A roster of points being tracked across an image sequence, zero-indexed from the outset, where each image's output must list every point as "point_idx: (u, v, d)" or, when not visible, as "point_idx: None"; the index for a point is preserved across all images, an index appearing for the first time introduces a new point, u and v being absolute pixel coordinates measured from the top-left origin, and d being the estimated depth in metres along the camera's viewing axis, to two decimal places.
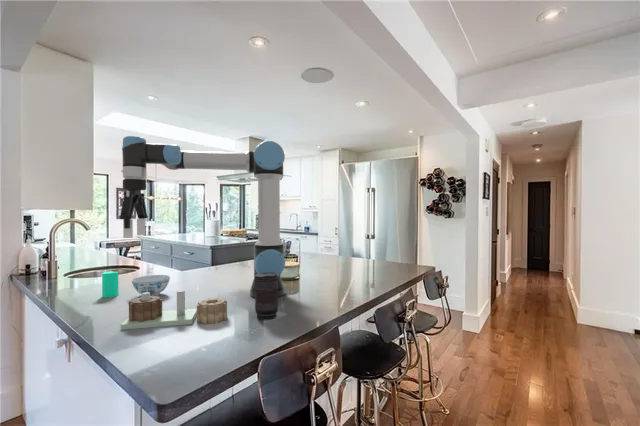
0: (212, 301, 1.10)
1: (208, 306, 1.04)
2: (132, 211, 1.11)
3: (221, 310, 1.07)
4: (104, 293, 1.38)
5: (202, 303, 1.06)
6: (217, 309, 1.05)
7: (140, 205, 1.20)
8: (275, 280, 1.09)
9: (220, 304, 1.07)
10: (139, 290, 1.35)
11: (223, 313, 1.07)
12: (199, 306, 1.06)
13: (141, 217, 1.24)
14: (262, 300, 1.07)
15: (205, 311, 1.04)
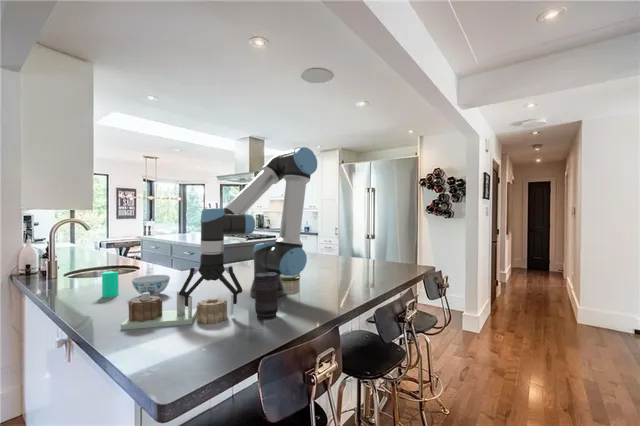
0: (212, 301, 1.10)
1: (208, 306, 1.04)
2: (191, 289, 1.06)
3: (221, 310, 1.07)
4: (104, 293, 1.38)
5: (202, 303, 1.06)
6: (217, 309, 1.05)
7: None
8: (275, 280, 1.09)
9: (220, 304, 1.07)
10: (139, 290, 1.35)
11: (223, 313, 1.07)
12: (199, 306, 1.06)
13: (233, 293, 1.10)
14: (262, 300, 1.07)
15: (205, 311, 1.04)
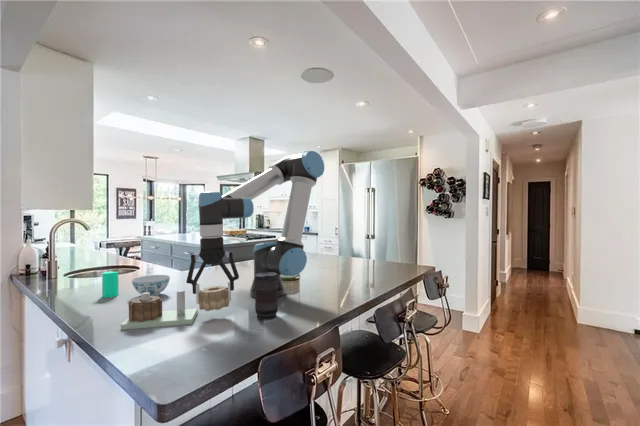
0: (214, 289, 1.11)
1: (210, 293, 1.05)
2: (197, 275, 1.07)
3: (223, 297, 1.08)
4: (104, 293, 1.38)
5: (204, 291, 1.07)
6: (219, 296, 1.05)
7: None
8: (275, 280, 1.09)
9: (221, 291, 1.07)
10: (139, 290, 1.35)
11: (225, 300, 1.08)
12: (201, 294, 1.06)
13: (229, 279, 1.10)
14: (262, 300, 1.07)
15: (207, 298, 1.04)
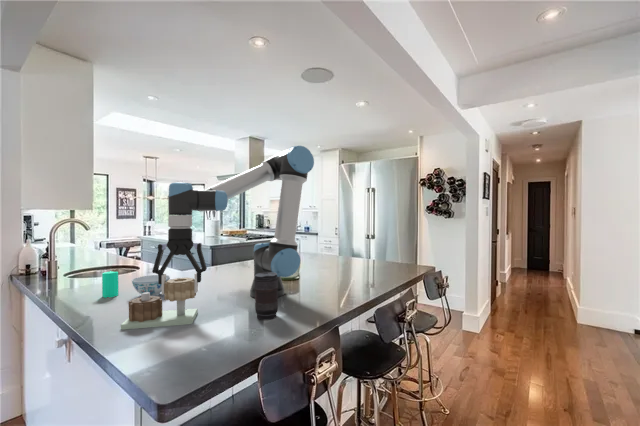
0: (181, 280, 1.11)
1: (175, 284, 1.05)
2: (163, 266, 1.06)
3: (189, 288, 1.07)
4: (104, 293, 1.38)
5: (169, 281, 1.07)
6: (184, 287, 1.05)
7: None
8: (275, 280, 1.09)
9: (187, 282, 1.07)
10: (139, 290, 1.35)
11: (191, 291, 1.07)
12: (166, 284, 1.06)
13: (197, 271, 1.10)
14: (262, 300, 1.07)
15: (171, 288, 1.04)
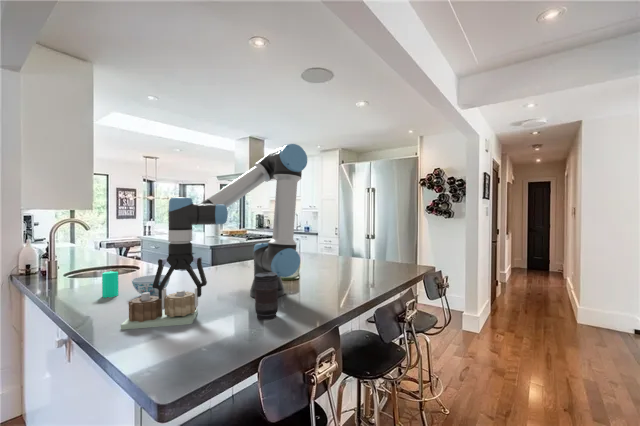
0: None
1: (175, 299, 1.05)
2: (163, 281, 1.06)
3: (189, 303, 1.07)
4: (104, 293, 1.38)
5: (170, 296, 1.07)
6: (184, 302, 1.05)
7: None
8: (275, 280, 1.09)
9: (188, 297, 1.07)
10: (139, 290, 1.35)
11: (191, 306, 1.07)
12: (166, 299, 1.06)
13: (197, 285, 1.10)
14: (262, 300, 1.07)
15: (172, 304, 1.04)
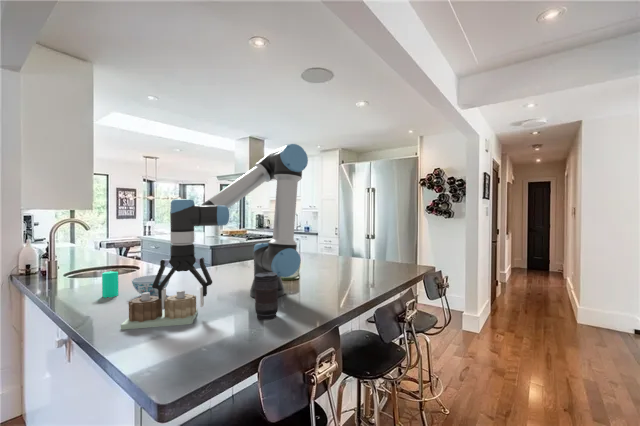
0: None
1: (175, 301, 1.05)
2: (164, 281, 1.06)
3: (189, 305, 1.07)
4: (104, 293, 1.38)
5: (170, 298, 1.07)
6: (184, 304, 1.05)
7: None
8: (275, 280, 1.09)
9: (188, 299, 1.07)
10: (139, 290, 1.35)
11: (191, 308, 1.07)
12: (167, 301, 1.06)
13: (203, 285, 1.10)
14: (262, 300, 1.07)
15: (172, 306, 1.04)
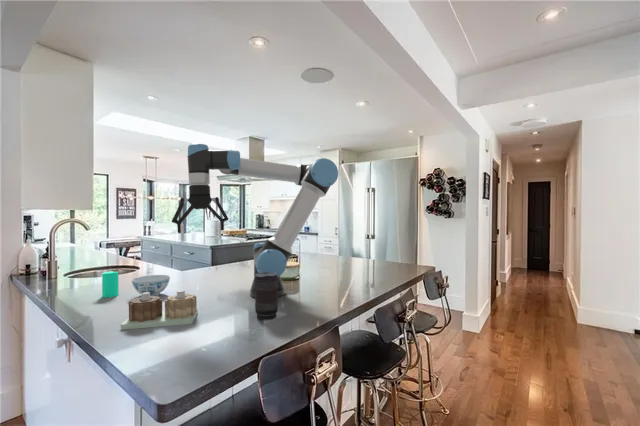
0: None
1: (176, 301, 1.05)
2: (183, 217, 1.19)
3: (189, 305, 1.07)
4: (104, 293, 1.38)
5: (170, 298, 1.07)
6: (185, 304, 1.05)
7: (209, 209, 1.21)
8: (275, 280, 1.09)
9: (188, 299, 1.07)
10: (139, 290, 1.35)
11: (191, 308, 1.08)
12: (167, 301, 1.06)
13: None
14: (262, 300, 1.07)
15: (172, 306, 1.04)
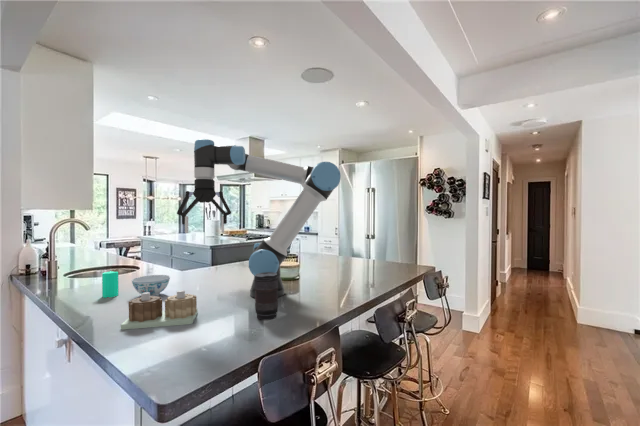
0: None
1: (176, 301, 1.05)
2: (187, 209, 1.23)
3: (189, 305, 1.07)
4: (104, 293, 1.38)
5: (170, 298, 1.07)
6: (185, 304, 1.05)
7: (213, 203, 1.25)
8: (275, 280, 1.09)
9: (188, 299, 1.07)
10: (139, 290, 1.35)
11: (191, 308, 1.08)
12: (167, 301, 1.06)
13: None
14: (262, 300, 1.07)
15: (172, 306, 1.04)
